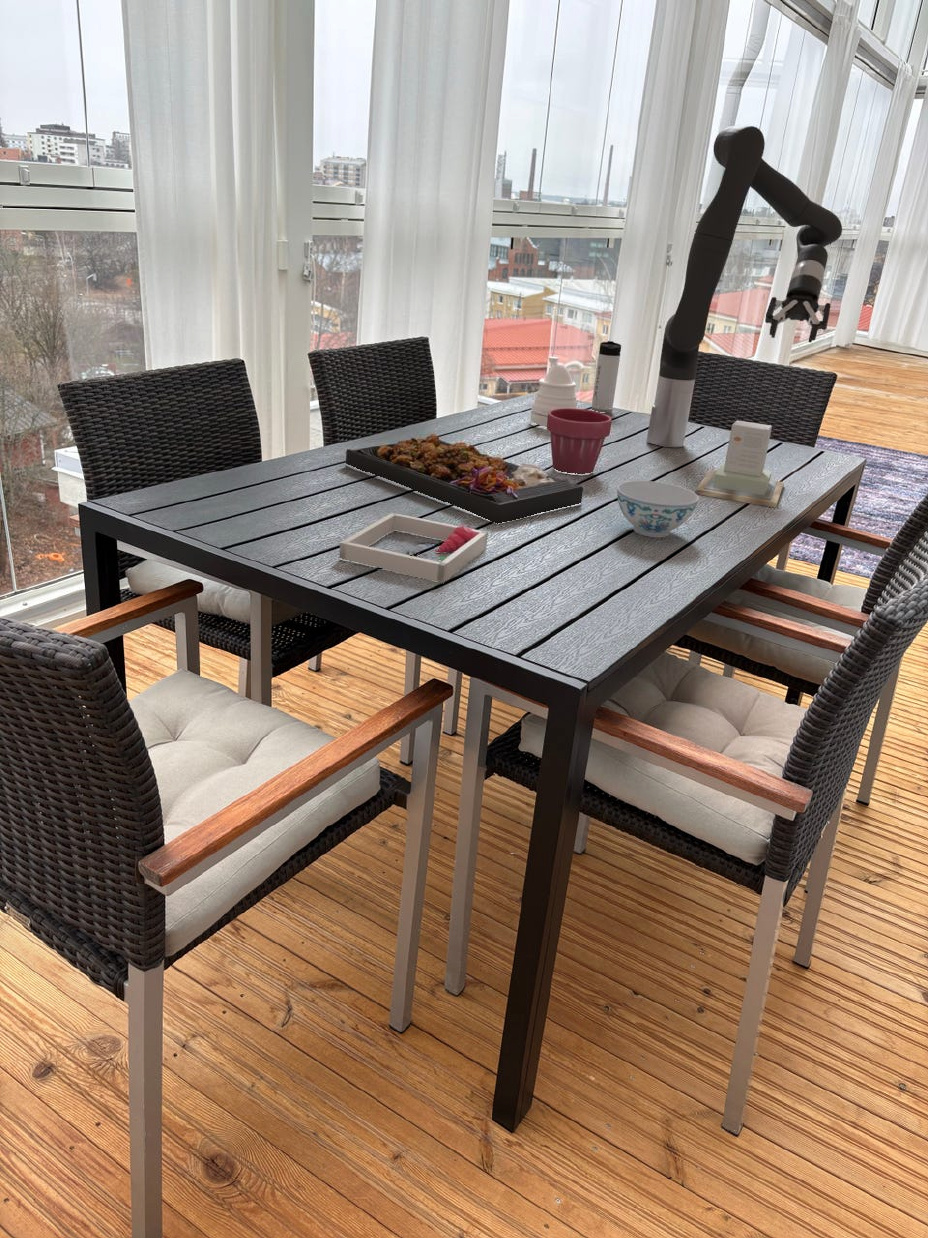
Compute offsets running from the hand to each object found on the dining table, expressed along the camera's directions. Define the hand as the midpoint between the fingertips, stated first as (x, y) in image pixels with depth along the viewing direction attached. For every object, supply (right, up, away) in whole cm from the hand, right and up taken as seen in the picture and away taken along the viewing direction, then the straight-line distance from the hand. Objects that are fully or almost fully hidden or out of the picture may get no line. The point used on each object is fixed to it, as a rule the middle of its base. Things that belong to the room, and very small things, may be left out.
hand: (791, 337), depth 225 cm
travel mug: (-37, -5, +59) cm, 69 cm away
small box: (-15, -34, -13) cm, 40 cm away
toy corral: (-86, -56, -68) cm, 123 cm away
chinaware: (-42, -50, -46) cm, 80 cm away
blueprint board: (-16, -38, -12) cm, 43 cm away
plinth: (-16, -38, -12) cm, 43 cm away
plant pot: (-53, -33, -9) cm, 63 cm away
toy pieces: (-82, -56, -66) cm, 119 cm away
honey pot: (-53, -14, +35) cm, 65 cm away
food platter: (-78, -40, -27) cm, 92 cm away
